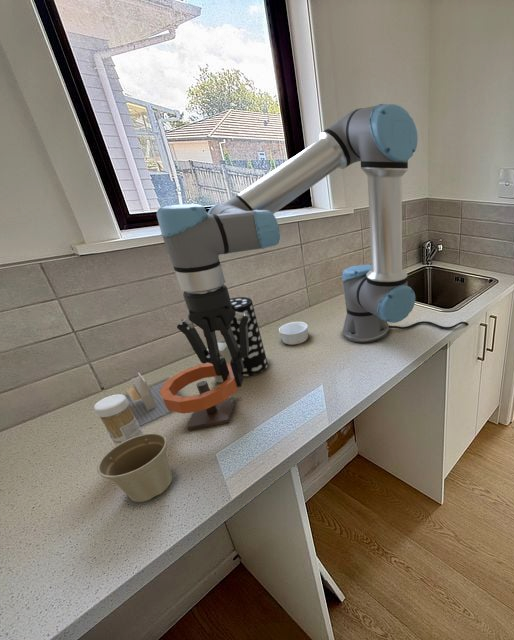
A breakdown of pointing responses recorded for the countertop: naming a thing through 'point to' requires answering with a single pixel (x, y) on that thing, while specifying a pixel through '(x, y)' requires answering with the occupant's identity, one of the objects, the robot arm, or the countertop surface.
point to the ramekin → (294, 332)
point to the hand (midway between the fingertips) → (234, 384)
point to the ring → (200, 400)
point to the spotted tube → (249, 338)
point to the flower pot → (138, 466)
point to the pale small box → (224, 354)
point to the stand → (211, 411)
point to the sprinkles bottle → (118, 418)
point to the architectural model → (146, 401)
